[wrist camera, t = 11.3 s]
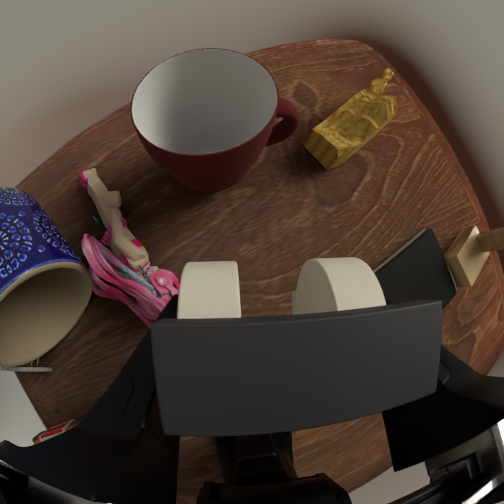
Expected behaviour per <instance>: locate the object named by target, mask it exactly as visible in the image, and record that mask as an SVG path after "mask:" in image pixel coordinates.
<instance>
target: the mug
mask: <svg viewBox="0 0 504 504" xmlns="http://www.w3.org/2000/svg"><path fill="white" fill-rule="evenodd" d="M275 117H284V118H283V119H282V121H280V122H279V123H278V124H277V125H275V126H273V125H274V121H275ZM131 118H132V122H133V125H134V128H135V130H136V132H137V134H138V136H139V138H140V140H141V142H142V143H143V145H144V147H145V149H146V150H147V152H148V153H149V155H150V156H151V157H152V158H153V159H154V161H155V162H156V163H157V164H158V165H159V166H161V167H162V168H163V169H164V170H165V171H166V172H168V173H169V174H170V175H171V176H172V177H173V178H175V179H176V180H177V181H178V182H179V183H181V184H182V185H184V186H186V187H187V188H190V189H192V190H195V191H200V192H216V191H221V190H224V189H226V188H229V187H231V186H232V185H234V184H235V183H237V182H238V181H239V180H241V179H242V178H243V176H244V175H245V174H246V173H247V172H248V170H249V169H250V167H251V166H252V164H253V163H254V162H255V160H256V159H257V157H258V156H259V154H260V153H261V152H262V150H263V148H264V147H265V146H269V145H272V144H276V143H278V142H281V141H283V140H285V139H286V138H288V137H289V136H291V135H292V134H293V133H294V131H295V130H296V129H297V127H298V125H299V114H298V111H297V109H296V108H295V106H294V105H293V104H292V103H291V102H290V101H288V100H286V99H283V98H279V93H278V88H277V85H276V82H275V80H274V78H273V77H272V75H271V74H270V73H269V71H268V70H267V69H266V68H265V67H264V66H263V65H262V64H260V63H259V62H258V61H256V60H254V59H253V58H251V57H249V56H247V55H244V54H242V53H239V52H236V51H231V50H227V49H217V48H207V49H196V50H191V51H187V52H183V53H180V54H178V55H175V56H173V57H170V58H168V59H167V60H165V61H163V62H162V63H160V64H158V65H157V66H155V67H154V68H153V69H152V70H151V71H150V72H148V73H147V74H146V76H145V77H144V78H143V79H142V80H141V82H140V83H139V85H138V86H137V88H136V90H135V92H134V95H133V98H132V101H131Z"/></svg>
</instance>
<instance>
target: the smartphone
mask: <svg viewBox="0 0 504 504" xmlns="http://www.w3.org/2000/svg"><path fill="white" fill-rule="evenodd" d="M373 273H374V274H375V276H376V278H377V280H378V282H379V284H380V286H381V289H382V292H383V295H384V296H385V297H386V298H387V299H389V300H390V301H391V302H392V303H393V304H397V303H404V302H411V301H417V300H440V301H442V309H443V308H444V307H445V306H446V305H447V304H448V303H449V301H450V300H451V299H452V298H453V297H454V296H455V294H456V292H457V287H456V284H455V282H454V279H453V276H452V274H451V271H450V269H449V266H448V264H447V262H446V259H445V257H444V254H443V252H442V250H441V248H440V245H439V243H438V241H437V239H436V237H435V235H434V233H433V231H432V229H431V228H428V229H425V230H421V231H420V232H419V233H418V234H417V235H416V236H414V237H413V238H412V239H411V240H410V241H409V242H407V243H406V244H405V245H404V246H403V247H401V248H400V249H399V250H398V251H397V252H395V253H394V254H393V255H392V256H390V257H389V258H388V259H387V260H385V261H384V262H383V263H382V264H380V265H379V266H378V267H376V268H375V269H374V270H373Z"/></svg>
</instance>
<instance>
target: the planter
mask: <svg viewBox="0 0 504 504" xmlns="http://www.w3.org/2000/svg"><path fill="white" fill-rule="evenodd" d="M91 292H92V277H91V274H90V272H89V270H88V269H87V267H86V266H85V264H84V263H83V262H82V260H81V259H80V257H79V256H78V255H77V253H76V252H75V251H74V249H73V248H72V247H71V245H70V244H69V243H68V241H67V240H66V238H65V237H64V236H63V234H62V233H61V232H60V230H59V229H58V228H57V226H56V225H55V224H54V222H53V221H52V219H51V218H50V217H49V216H48V214H47V213H46V212H45V210H44V209H43V208H42V207H41V206H40V205H39V203H38V202H37V201H36V200H35V199H34V198H33V197H31V196H30V195H29V194H27V193H26V192H24V191H22V190H19V189H16V188H12V187H0V366H1V367H16V366H21V365H24V364H27V363H29V362H31V361H33V360H35V359H37V358H39V357H41V356H42V355H44V354H45V353H47V352H48V351H50V350H51V349H52V348H53V347H55V346H56V345H57V344H58V343H59V342H60V341H61V340H62V339H63V338H64V337H65V336H66V335H67V334H68V333H69V332H70V331H71V330H72V328H73V327H74V326H75V325H76V323H77V322H78V320H79V319H80V317H81V316H82V314H83V312H84V311H85V309H86V307H87V304H88V302H89V299H90V296H91Z"/></svg>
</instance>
